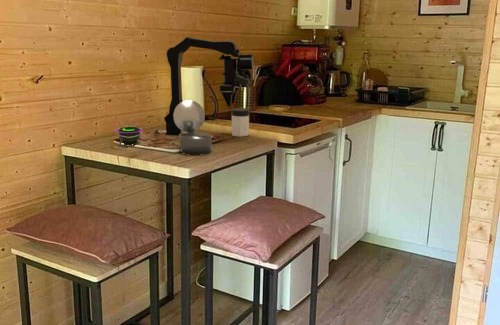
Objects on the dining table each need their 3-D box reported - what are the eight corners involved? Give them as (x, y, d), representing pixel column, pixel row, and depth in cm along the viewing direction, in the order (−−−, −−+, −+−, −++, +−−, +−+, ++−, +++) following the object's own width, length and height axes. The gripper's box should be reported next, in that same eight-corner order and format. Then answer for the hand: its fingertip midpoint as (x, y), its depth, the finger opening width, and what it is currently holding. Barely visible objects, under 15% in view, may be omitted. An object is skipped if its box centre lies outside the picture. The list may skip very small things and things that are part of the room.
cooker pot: (175, 148, 209) (174, 132, 207) (204, 145, 214) (204, 130, 212) (185, 156, 196) (184, 140, 195) (216, 153, 202) (216, 137, 200)
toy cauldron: (111, 151, 202) (110, 124, 199) (111, 143, 216) (110, 117, 213) (149, 149, 206) (148, 123, 203) (146, 141, 220) (145, 116, 217)
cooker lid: (175, 133, 206) (173, 133, 208) (205, 130, 211) (203, 130, 214) (173, 101, 204) (171, 101, 207) (203, 99, 210) (201, 99, 212)
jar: (236, 137, 230) (236, 111, 226) (227, 134, 236) (227, 108, 233) (252, 135, 234) (253, 110, 231) (243, 132, 241) (243, 107, 238)
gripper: (244, 72, 212) (245, 108, 216) (251, 68, 230) (252, 101, 234) (218, 72, 214) (220, 108, 218) (227, 68, 231) (228, 101, 236)
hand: (231, 104), depth 226 cm, fingers open, 9 cm apart
